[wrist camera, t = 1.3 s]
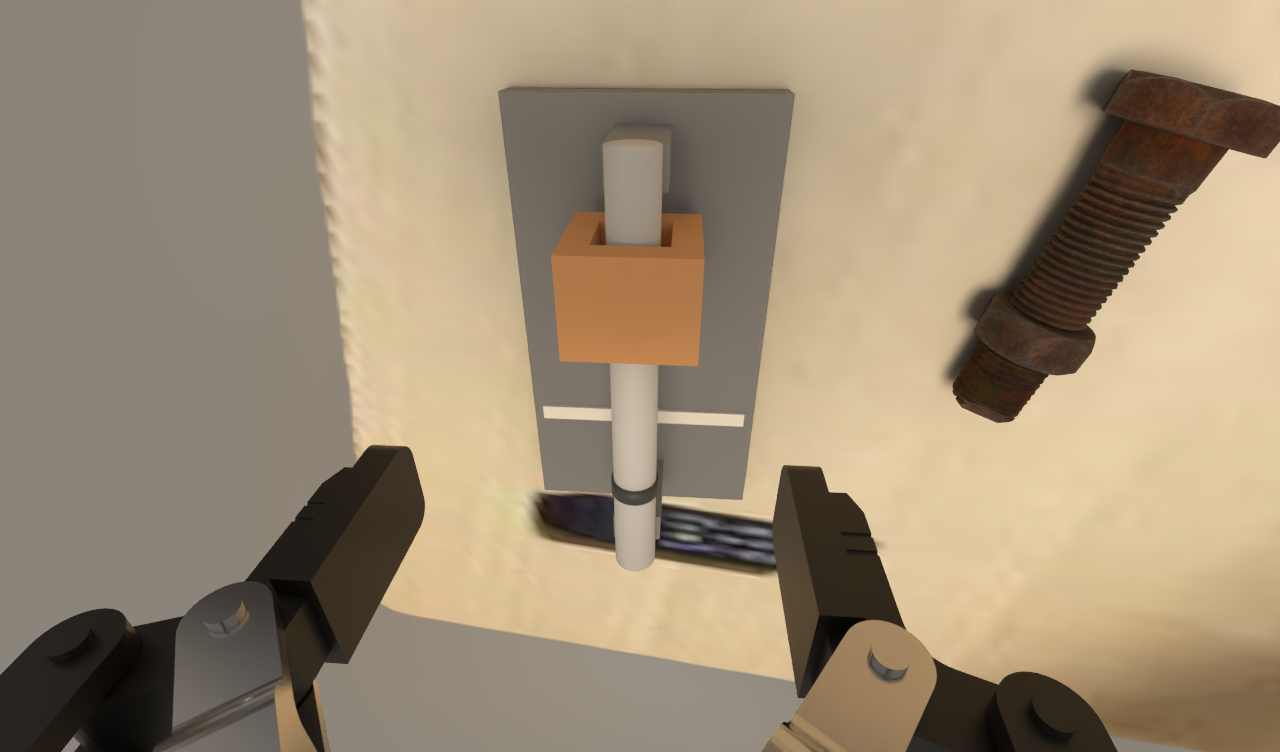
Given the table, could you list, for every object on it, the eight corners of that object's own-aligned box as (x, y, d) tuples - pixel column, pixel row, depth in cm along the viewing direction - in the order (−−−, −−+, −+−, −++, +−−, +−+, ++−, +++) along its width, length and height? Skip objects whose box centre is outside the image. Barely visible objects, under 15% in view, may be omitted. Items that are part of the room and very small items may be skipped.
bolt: (939, 362, 33) (1125, 71, 24) (1033, 407, 31) (1270, 108, 22) (919, 404, 28) (1138, 66, 20) (1027, 459, 26) (1318, 112, 18)
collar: (576, 211, 23) (550, 255, 19) (701, 214, 23) (704, 259, 18) (581, 303, 25) (559, 361, 21) (696, 306, 25) (698, 366, 21)
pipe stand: (507, 87, 25) (439, 114, 18) (789, 89, 24) (828, 119, 17) (549, 473, 37) (517, 578, 30) (740, 482, 36) (752, 592, 29)
